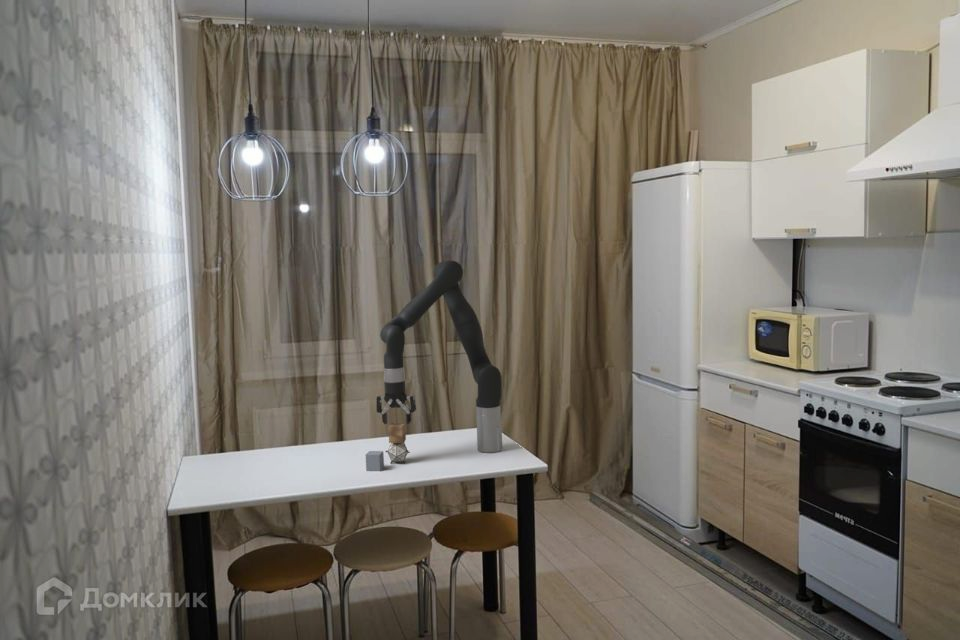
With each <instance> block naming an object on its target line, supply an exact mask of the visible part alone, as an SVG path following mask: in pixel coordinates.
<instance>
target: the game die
mask: <svg viewBox="0 0 960 640" xmlns="http://www.w3.org/2000/svg"><path fill="white" fill-rule="evenodd" d="M405 442H406V440H405V441H404V442H403V443H390V445H389V446H388V447H389V448H388V449H387V450H385V453H387V454H388V457H389V458H390V464H392V463H393V462H394V463H395V462H396V463H397V462H399V463H400V462H403V463H404V464H405V463H406V458H407V456H408V455H409V454H410V453H411V452H410V451H409V450H408V449H407V446H406V444H405Z"/></svg>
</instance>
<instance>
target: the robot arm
mask: <svg viewBox="0 0 960 640" xmlns="http://www.w3.org/2000/svg"><path fill="white" fill-rule="evenodd" d="M463 274H464V269H463V267H462V265H461V264H460V263H459V262H458V261H455V260H446V261H445V260H443V261H440V262H438V263H437V264H436V265H435V266H434V269H433V277H434V278H433V279H432V281H431V282H430V283H429V284H428V285H427V286H426V287H425V288H424V289H423V290H421V291H420V292H418V294H416V295H415V296H414V297H412V299H411V300H410V301H408V303H407V304H406V305H405V306H404V307H403V308H402V309H401V311H400V312H399V313H398V314H397V315H395V316H394V317H393V318H392V319H390V320H389V321H388V322H387V323H385V324H384V326H383V327H382V328H381V330H380V333H379V334H380V335H379V337H380V340H381V341H382V342H384V343H385V344H386V349H385V350H386V352H384V354H383V365H384V366H383V382H384V395H381V394H379V395H378V396H377V397H376V413H380V414H381V419H382V420H381V422H382V423H383V424H384V425H387V424H388V413H387V411H388V410H389V409H390V408H391V409H395V408H397V409H400V408H401V409H402V410H403V411H404V412H405V413H406V415H405V416H406V425H410V424H411V423H412V420H413V419H412V413H415V411H417V406H416V396H415V395H414V394H412V395H407V391H406V390H407V389H406V375H405V374H406V372H405V369H404V368H405V367H404V366H405V365H404V351H405V344H406V343H405V340H406V339H405V338H406V337H405V331H406V330H407V329H409V328H412V327H414V326H415V325H416V324H417V322H418V321H420V319H422V317H423V316H424V315H425V313H427V311H428V310H429V309H430V308H431V307H432V306H433V305H434V304H435V303H436V302H437V301H438V300H439V299H440V298H441V297H443V298H444V301H445V304H446V306H447V309H448V312H449V314H450V317H451V320H452V324H453V326H454V328H455V330H456V331H455V332H456V333H457V336H458V339H459V341H460V342H461V343H460V344H461V346H462V348H463V349H464V351H465V354H466V356H467V358H468V363H469V365H470V369H471V373H472V377H473V379H474V382H475V383H476V384H477V398H476V399H475V406H476V407H475V409H476V410H475V411H476V439H477V441H476V442H477V443H476V445H477V446H476V447H477V451H478V452H480V453H497V452H498V453H499V452H501V451H502V449H503V425H502V421H501V417H502V416H501V400H502V374H501V371H500V369H499V368H498V367H496V366H495V365H493V364H492V362H491V360H490V358H489V356H488V354H487V352H486V348H485V345H484V335H483V330H482V326H481V324H480V320H479V319H478V316H477V313H476V312H475V310H474V308H473V307H472V305H471V304H470V303H469V302H468V300H467V298H466V297H465V295H464V294H463V292H462V289H461V286H460V284H459V283H460V281H461V280H462V279H463V276H464V275H463ZM407 400H408V402H409V403H410V407H409V405H408V404H407V403H406V401H407ZM383 401H385V403H386V404H385V405H384V407H383V408H382V403H383Z"/></svg>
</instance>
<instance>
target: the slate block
mask: <svg viewBox="0 0 960 640" xmlns="http://www.w3.org/2000/svg"><path fill="white" fill-rule="evenodd" d="M384 456H385V455H384V450H369V451H368V452H367V453H366V454H365V469H366V470H365V472H381V471H382V470H383V469H384V468H385V459H384V458H385V457H384ZM383 467H384V468H383ZM382 468H383V469H382ZM381 469H382V470H381ZM380 470H381V471H380Z"/></svg>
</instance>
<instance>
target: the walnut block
mask: <svg viewBox="0 0 960 640" xmlns="http://www.w3.org/2000/svg"><path fill="white" fill-rule="evenodd" d="M387 429H388V443H389V444H391V443H403V442H404V441H405V442H406V440H407V435H406V433H407V432H406V423H391V424H389V426H388V428H387ZM405 442H404V443H405Z"/></svg>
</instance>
